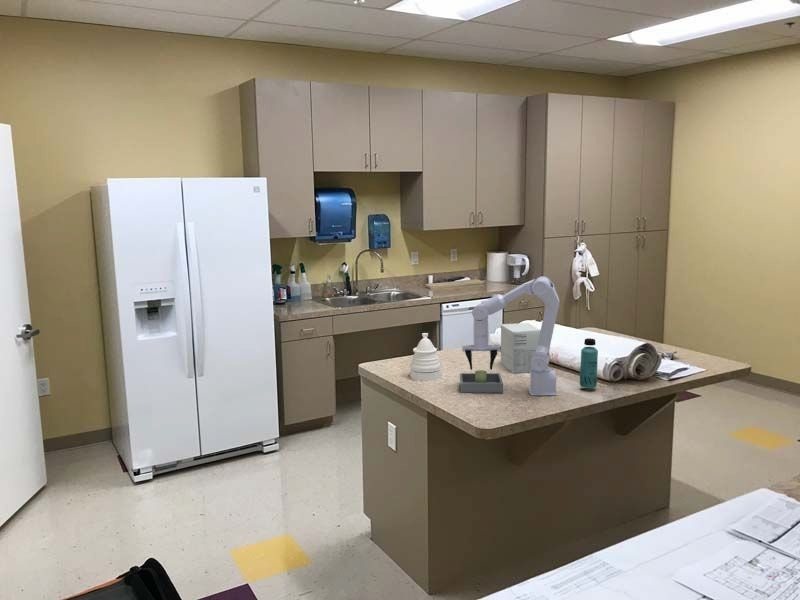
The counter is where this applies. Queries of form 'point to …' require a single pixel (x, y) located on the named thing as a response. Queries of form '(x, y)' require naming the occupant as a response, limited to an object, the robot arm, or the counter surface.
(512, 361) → the supplement box
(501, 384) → the bin
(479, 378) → the cucumber chunk
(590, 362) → the beverage bottle
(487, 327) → the robot arm
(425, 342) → the honey pot
